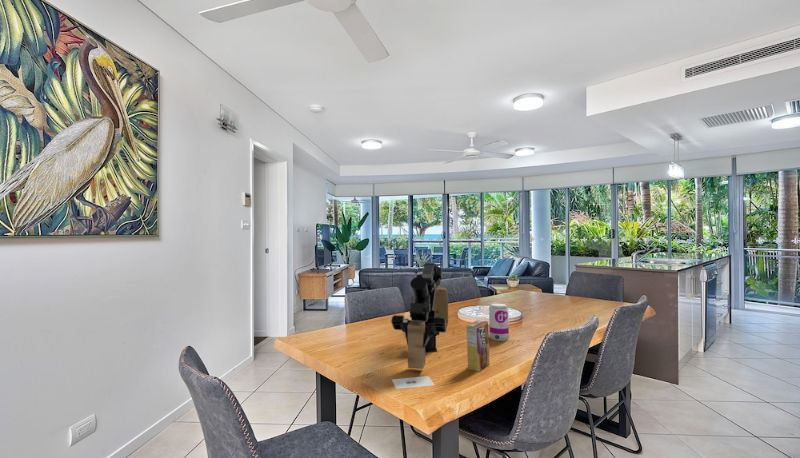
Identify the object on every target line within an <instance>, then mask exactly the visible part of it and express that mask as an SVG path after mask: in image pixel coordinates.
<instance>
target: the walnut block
mask: <svg viewBox="0 0 800 458" xmlns="http://www.w3.org/2000/svg"><path fill="white" fill-rule="evenodd" d="M424 337H425V322H410V323H409V324H408V346H407V368H408V369H418V370H419V369H420V370H423V369H424V367H425V365H426V352H425V347H423V342H424Z"/></svg>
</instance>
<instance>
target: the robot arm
mask: <svg viewBox="0 0 800 458" xmlns="http://www.w3.org/2000/svg"><path fill="white" fill-rule="evenodd" d="M422 268H423V269H422V272H421V274H416V277H414V278H413V279H412V280H411V281H410V289H411V292H412V296H413V298H414V300H413V302H411V303H410V304H409V318H411V319H408V318H407V317H405V316H404V315H400V314H399V315H398V314H394V315H393V316H392V317H391V321H390V322H391V326H392V328H393V330H394V331H396V330H397V331H402V333H404V335H405V339H406V345H407V347H408V324H409V323H410V322H425V337H424V342H423V347H425V353H426V352H427V353H428V352H438V348H437V337H438V336H439V335H440V333H446V332H447V328H446V320H445V318H444V317H436V316H435V312H434V304H435V295H436V288H437V287H440V286H441V283H442V282H441V281H442V280H443V270H442V268H441V267H439V266H438V265H437V263H434V262H427V263H424V267H422Z"/></svg>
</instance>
